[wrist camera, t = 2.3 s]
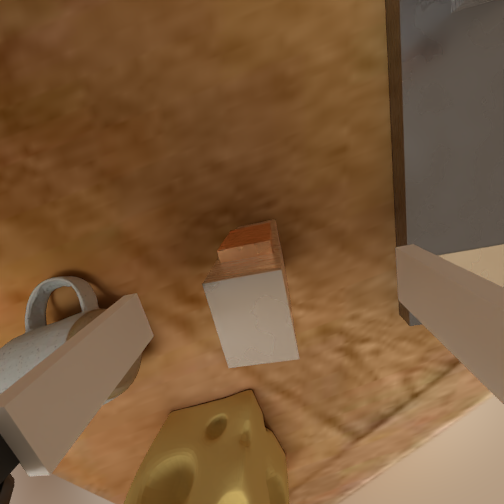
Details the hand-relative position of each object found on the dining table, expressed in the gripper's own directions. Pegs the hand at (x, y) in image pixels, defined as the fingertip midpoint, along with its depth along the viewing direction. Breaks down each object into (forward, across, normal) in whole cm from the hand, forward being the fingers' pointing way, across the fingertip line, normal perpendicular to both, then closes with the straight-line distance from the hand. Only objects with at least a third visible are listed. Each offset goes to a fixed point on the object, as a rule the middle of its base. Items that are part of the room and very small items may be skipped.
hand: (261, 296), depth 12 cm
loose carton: (+7, 0, 0) cm, 7 cm away
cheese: (+8, -8, -20) cm, 23 cm away
